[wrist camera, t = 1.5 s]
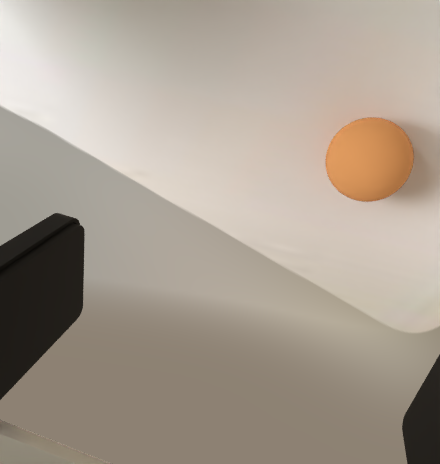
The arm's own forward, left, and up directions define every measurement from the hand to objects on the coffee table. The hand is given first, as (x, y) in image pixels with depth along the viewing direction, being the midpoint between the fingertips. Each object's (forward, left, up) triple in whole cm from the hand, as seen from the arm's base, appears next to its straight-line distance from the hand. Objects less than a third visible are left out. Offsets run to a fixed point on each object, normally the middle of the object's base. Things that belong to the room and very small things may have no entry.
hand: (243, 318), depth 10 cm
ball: (+3, -4, -23) cm, 23 cm away
